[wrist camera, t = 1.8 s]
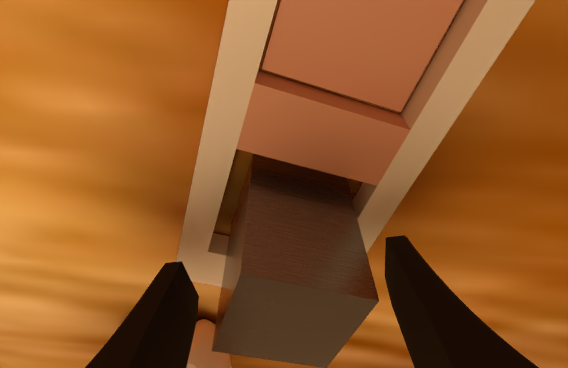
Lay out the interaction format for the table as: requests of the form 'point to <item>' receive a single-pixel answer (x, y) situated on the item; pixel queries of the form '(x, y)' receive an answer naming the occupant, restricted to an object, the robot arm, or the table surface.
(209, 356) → the water bottle
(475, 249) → the table surface
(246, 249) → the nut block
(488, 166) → the table surface
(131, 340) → the robot arm
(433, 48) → the beige rectangular frame
